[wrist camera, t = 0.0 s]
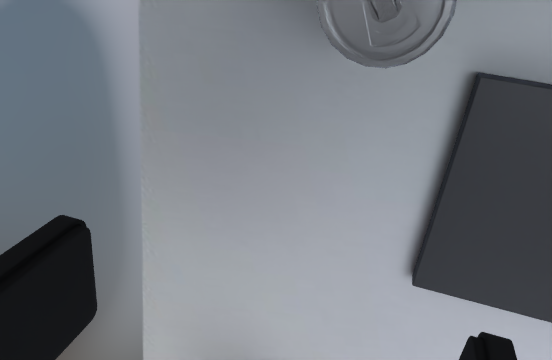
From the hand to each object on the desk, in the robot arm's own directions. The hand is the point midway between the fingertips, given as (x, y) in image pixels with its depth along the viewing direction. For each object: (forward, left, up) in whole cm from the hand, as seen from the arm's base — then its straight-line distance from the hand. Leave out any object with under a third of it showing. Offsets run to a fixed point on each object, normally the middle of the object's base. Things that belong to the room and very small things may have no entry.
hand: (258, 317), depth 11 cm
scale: (+5, +14, -22) cm, 27 cm away
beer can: (-7, +1, -22) cm, 23 cm away
